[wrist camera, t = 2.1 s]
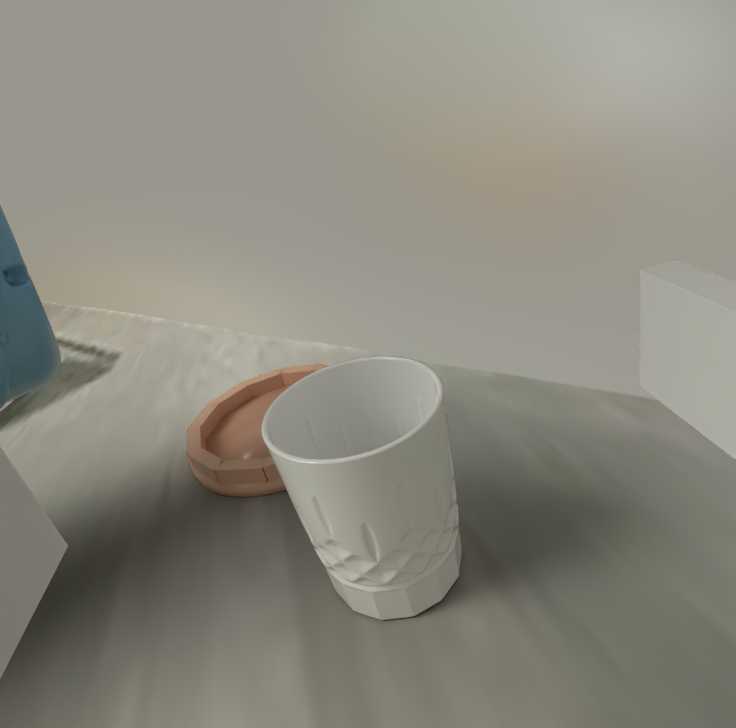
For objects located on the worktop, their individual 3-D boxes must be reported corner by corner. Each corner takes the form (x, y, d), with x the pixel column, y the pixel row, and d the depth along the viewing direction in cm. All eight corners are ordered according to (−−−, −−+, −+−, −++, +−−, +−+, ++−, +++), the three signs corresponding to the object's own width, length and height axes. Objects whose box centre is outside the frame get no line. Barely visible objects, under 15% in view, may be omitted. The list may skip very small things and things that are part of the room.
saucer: (155, 499, 36) (143, 477, 35) (238, 389, 48) (231, 371, 47) (346, 494, 32) (338, 469, 31) (385, 376, 44) (380, 355, 43)
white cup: (315, 530, 30) (260, 384, 25) (445, 490, 30) (414, 339, 26) (332, 657, 23) (260, 487, 18) (500, 602, 23) (471, 423, 19)
